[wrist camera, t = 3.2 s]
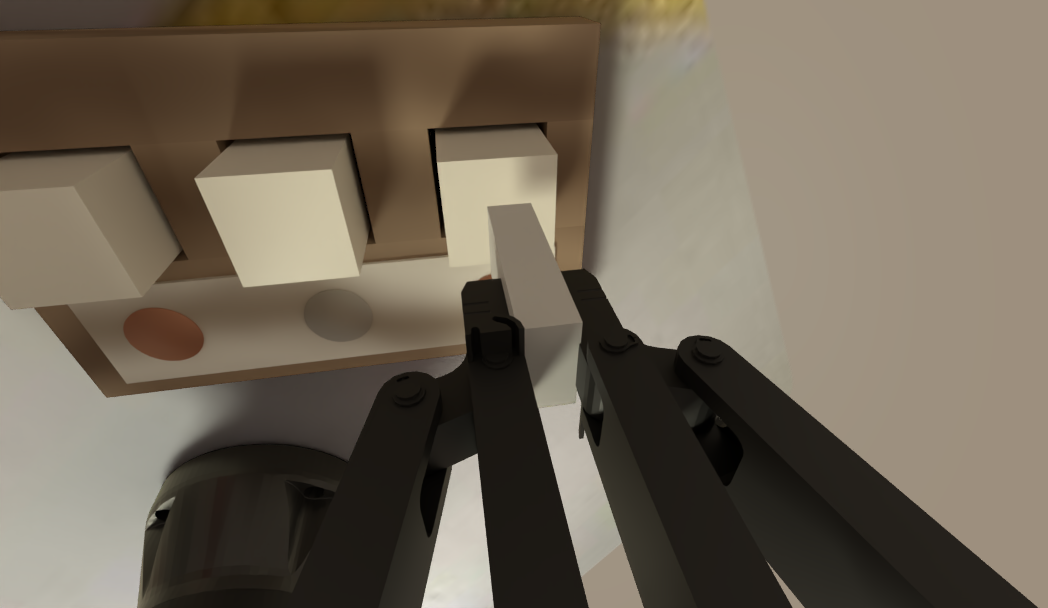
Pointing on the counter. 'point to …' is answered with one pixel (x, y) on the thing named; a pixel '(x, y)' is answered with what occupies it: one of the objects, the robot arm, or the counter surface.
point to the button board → (280, 111)
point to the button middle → (288, 208)
